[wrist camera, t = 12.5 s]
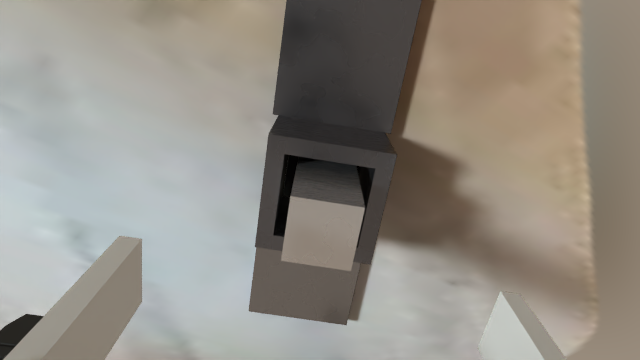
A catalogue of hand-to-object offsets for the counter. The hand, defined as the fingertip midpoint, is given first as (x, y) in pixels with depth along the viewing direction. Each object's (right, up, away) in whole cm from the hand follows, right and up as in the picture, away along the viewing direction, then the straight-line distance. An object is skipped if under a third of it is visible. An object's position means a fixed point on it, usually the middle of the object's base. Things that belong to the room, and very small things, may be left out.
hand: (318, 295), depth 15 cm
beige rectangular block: (0, +5, +14) cm, 15 cm away
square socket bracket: (0, +5, +14) cm, 15 cm away
